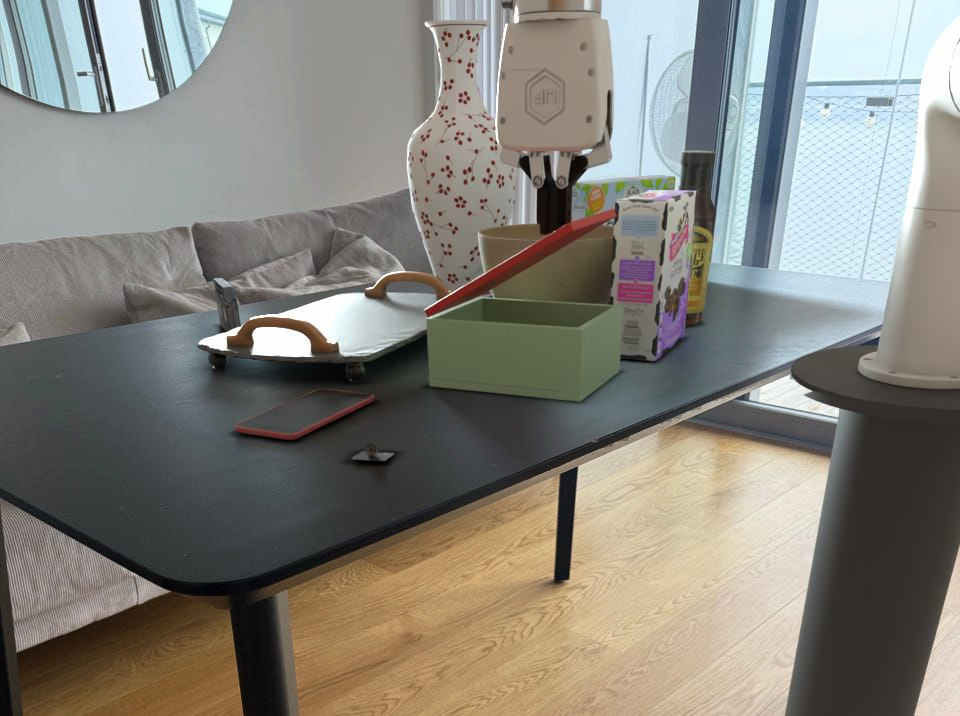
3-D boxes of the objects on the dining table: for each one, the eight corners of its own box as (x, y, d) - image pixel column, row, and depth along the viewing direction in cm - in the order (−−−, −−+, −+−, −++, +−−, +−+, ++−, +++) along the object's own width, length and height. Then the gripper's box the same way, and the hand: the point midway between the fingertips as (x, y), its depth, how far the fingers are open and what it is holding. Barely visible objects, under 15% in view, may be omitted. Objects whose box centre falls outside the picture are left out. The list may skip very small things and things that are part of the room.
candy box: (656, 363, 101) (668, 198, 92) (605, 359, 103) (612, 198, 94) (686, 337, 111) (699, 187, 103) (639, 334, 113) (648, 187, 105)
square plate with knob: (361, 451, 77) (360, 437, 76) (395, 454, 76) (394, 439, 76) (350, 459, 74) (349, 444, 74) (384, 462, 74) (384, 447, 73)
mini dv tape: (242, 335, 118) (234, 286, 115) (230, 336, 118) (222, 287, 115) (231, 323, 125) (224, 277, 122) (220, 324, 125) (213, 278, 121)
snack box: (584, 291, 140) (588, 182, 132) (558, 287, 144) (560, 181, 136) (669, 274, 152) (677, 173, 145) (643, 271, 156) (649, 172, 148)
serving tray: (354, 310, 131) (349, 264, 128) (501, 319, 123) (501, 270, 120) (178, 374, 101) (167, 316, 98) (359, 392, 93) (353, 329, 90)
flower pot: (579, 359, 103) (583, 243, 97) (451, 341, 112) (447, 235, 106) (649, 329, 116) (656, 225, 109) (529, 316, 125) (530, 219, 119)
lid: (617, 216, 91) (613, 208, 90) (573, 230, 81) (570, 221, 81) (480, 295, 100) (477, 289, 100) (427, 317, 91) (423, 310, 90)
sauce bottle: (650, 326, 117) (662, 152, 107) (658, 317, 122) (670, 149, 112) (702, 328, 115) (719, 151, 105) (707, 319, 120) (724, 149, 110)
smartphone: (378, 394, 89) (293, 435, 79) (379, 400, 90) (294, 441, 79) (319, 387, 92) (230, 426, 81) (320, 393, 92) (231, 432, 82)
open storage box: (619, 371, 98) (623, 305, 94) (580, 402, 88) (582, 329, 85) (480, 359, 104) (479, 296, 101) (429, 386, 94) (426, 318, 91)
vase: (522, 286, 146) (522, 23, 128) (511, 304, 132) (509, 14, 114) (424, 286, 148) (410, 28, 130) (403, 304, 134) (385, 19, 116)
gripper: (461, 4, 78) (467, 235, 88) (628, -7, 73) (615, 241, 82) (497, 11, 84) (499, 227, 93) (654, 0, 79) (639, 231, 88)
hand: (553, 233), depth 88 cm, fingers closed
